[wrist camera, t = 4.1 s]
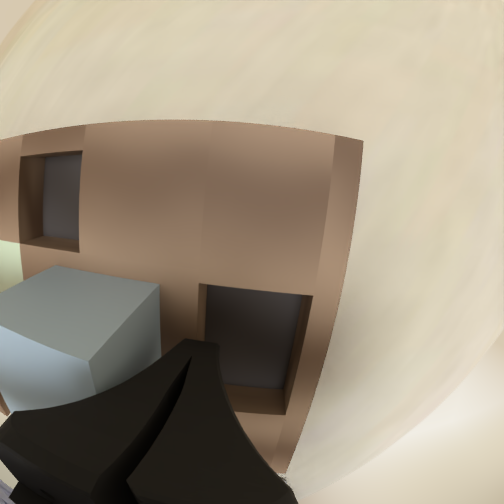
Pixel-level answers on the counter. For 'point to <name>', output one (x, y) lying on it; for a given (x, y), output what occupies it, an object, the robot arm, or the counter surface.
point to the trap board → (200, 242)
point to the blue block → (74, 336)
